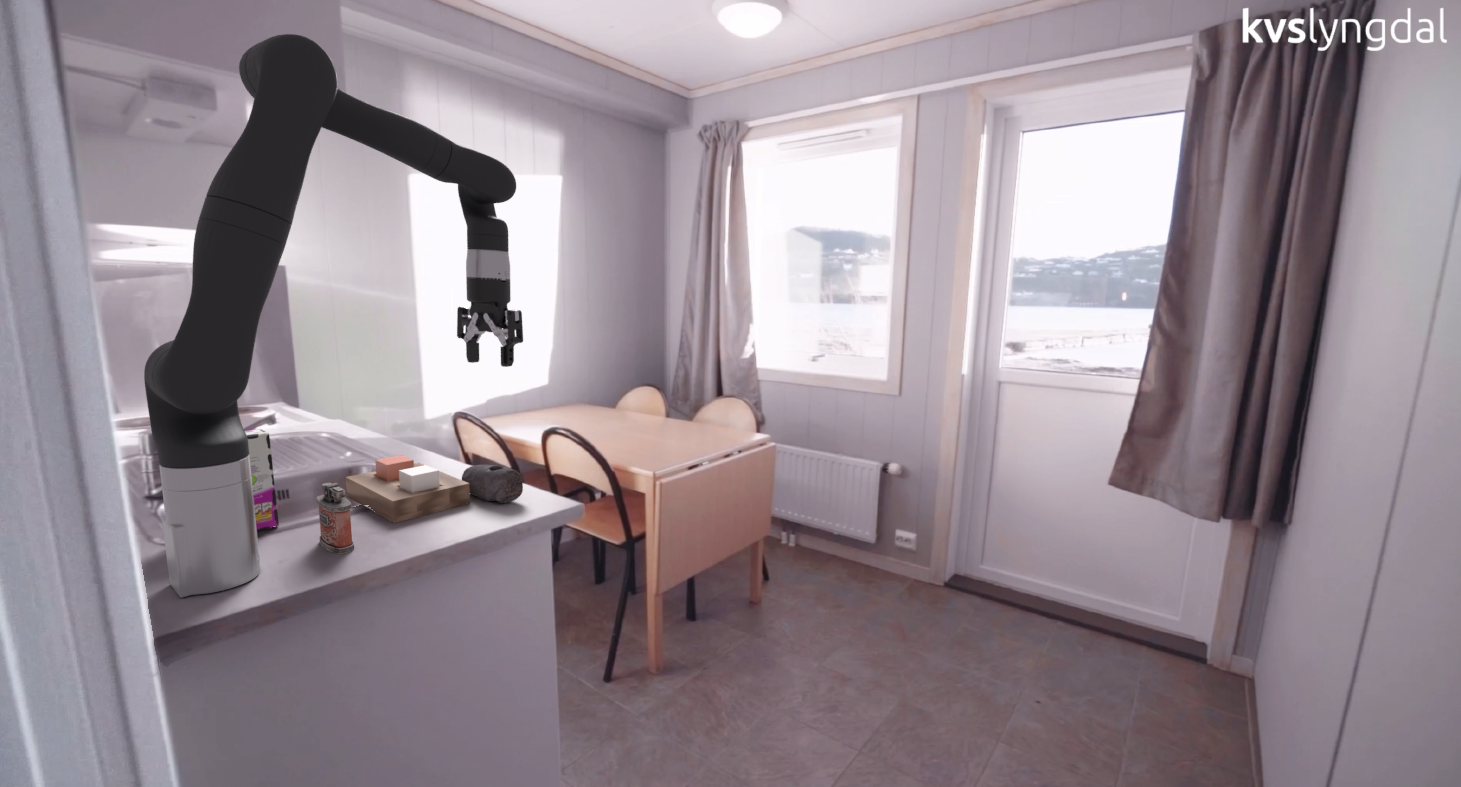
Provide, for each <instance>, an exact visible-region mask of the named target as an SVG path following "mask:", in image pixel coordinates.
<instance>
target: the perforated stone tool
mask: <svg viewBox="0 0 1461 787" xmlns="http://www.w3.org/2000/svg"><path fill="white" fill-rule="evenodd" d="M461 480H462V481H465V482H467V483H469V488H470V495H472V496H474V497H475V496H476V497H477V498H478V499H481V500H484V501H487V502H493V501H497V502H499V503H501V504H506V503H509V502H514V501H516V500H517V499H519V498H520V497H521V495H522V494H523V490H524V489H523V487H524V484H523V476H522V474H521V473H520V472H519V471H517V470H516V469H512V468H509V467H505V466H502V465H494V464H476V465H471V466H469V467H466V469H465V470H464V471H463V473H462V474H461Z"/></svg>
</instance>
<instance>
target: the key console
mask: <svg viewBox="0 0 1461 787" xmlns="http://www.w3.org/2000/svg"><path fill="white" fill-rule="evenodd" d="M424 465H425V464H424V463H420V462H417V463H414V467H419V466H424ZM439 484H440V487H436V488H431V489H427V490H423V491H418V492H414V493H409V492H407V491H405V490H403V489H401V488H400V482H399V479H395V480H390V481H384V480H382V479H380V478H378V477H376V470H374V471H370V472H365V473H360V474H354V475H349V476H346V477H345V487H346V498H347V499H350V500H352V501H354V502H356V503H357V504H359V505H361V506H363V505H369V506H368V507H371V509H373V511H375V512H376V513H375V512H374V513H375V514H377V513H378V514H377V515H379V514H380V515H381V516H380V515H379V516H380V517H382V516H383V517H382V518H384V519H385V520H388V521H389V522H391V523H393V524H397V523H400V522H405V521H408V520H412V519H415V518H416V519H417V518H419V517H422V516H423V517H424V516H427V515H430V514H434V513H437V512H438V513H439V512H443V511H446V510H449V509H453V508H457V507H461V506H465V505H469V504H471V496H470V495H471V494H470V488H469V483H467V482H465V481H462V479H460V478H457V477H455V476H453V475H450V474H447V473H445V472H442V471H440V470H439ZM373 511H372V512H373Z"/></svg>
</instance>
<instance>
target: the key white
mask: <svg viewBox="0 0 1461 787" xmlns="http://www.w3.org/2000/svg"><path fill="white" fill-rule="evenodd" d="M423 465H424V466H419V467H413V468H408V469H403V470H399V482H400V488H401V489H403V490H405V491H407V492H409V493H414V492H418V491H423V490H427V489H431V488H436V487H440V484H439V471H440V470H439V469H436V468H434V467H432V466H429V465H427V464H423Z"/></svg>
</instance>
